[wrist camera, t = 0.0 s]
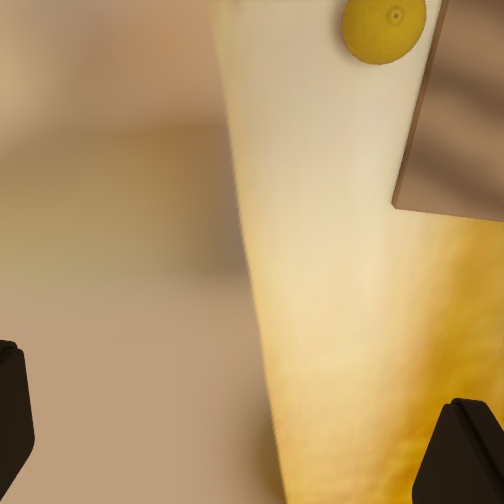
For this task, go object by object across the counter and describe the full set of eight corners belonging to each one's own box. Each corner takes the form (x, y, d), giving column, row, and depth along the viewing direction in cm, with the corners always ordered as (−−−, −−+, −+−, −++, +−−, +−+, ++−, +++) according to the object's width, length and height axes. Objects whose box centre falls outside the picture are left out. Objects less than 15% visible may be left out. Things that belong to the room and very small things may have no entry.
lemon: (346, -21, 32) (365, -46, 25) (416, -7, 33) (456, -28, 25) (328, 58, 35) (341, 55, 27) (394, 71, 35) (425, 72, 28)
